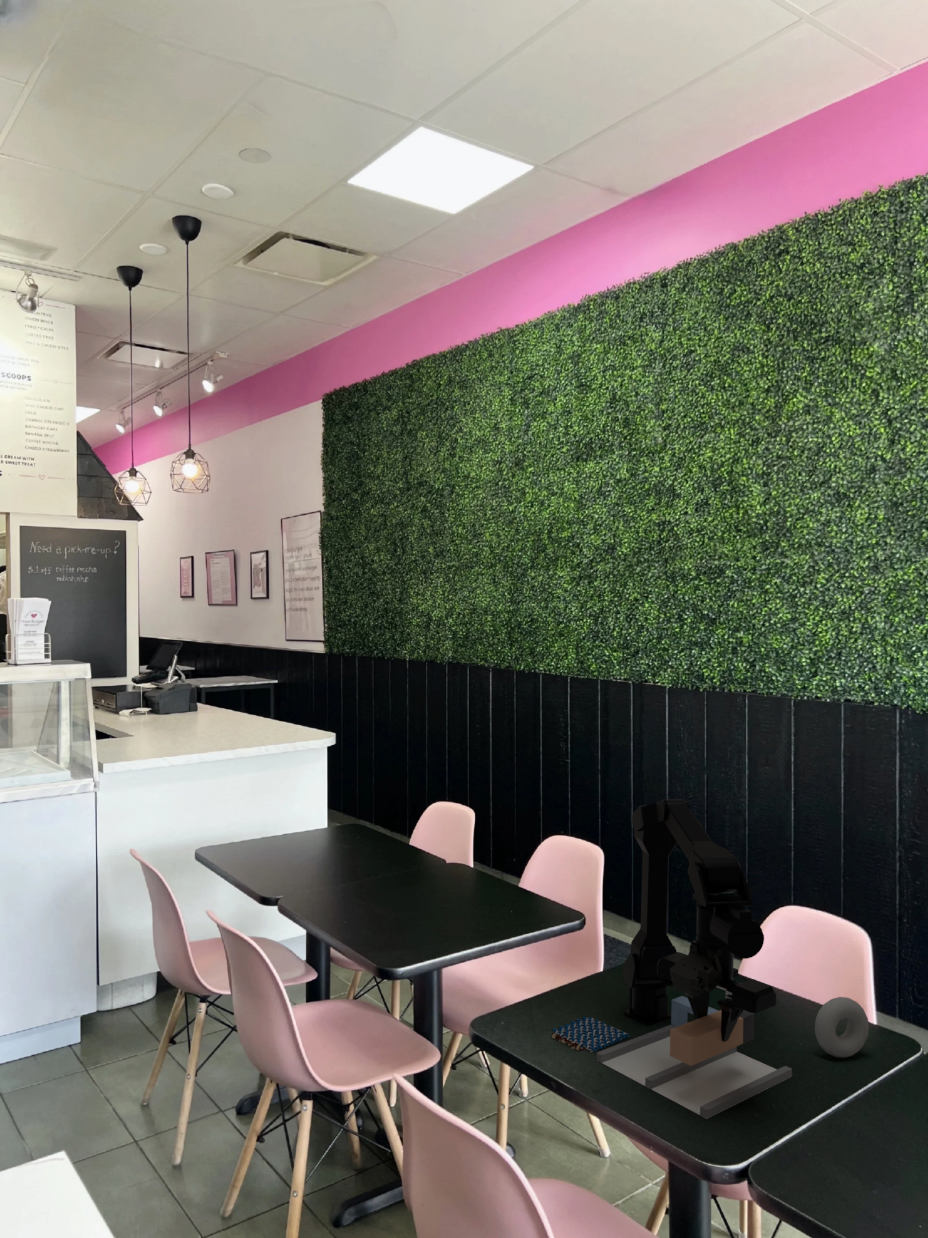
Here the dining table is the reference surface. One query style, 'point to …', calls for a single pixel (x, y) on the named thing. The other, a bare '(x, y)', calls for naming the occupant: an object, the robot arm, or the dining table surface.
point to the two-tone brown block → (708, 1037)
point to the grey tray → (691, 1069)
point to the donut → (854, 1032)
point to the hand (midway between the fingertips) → (713, 1036)
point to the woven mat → (588, 1034)
